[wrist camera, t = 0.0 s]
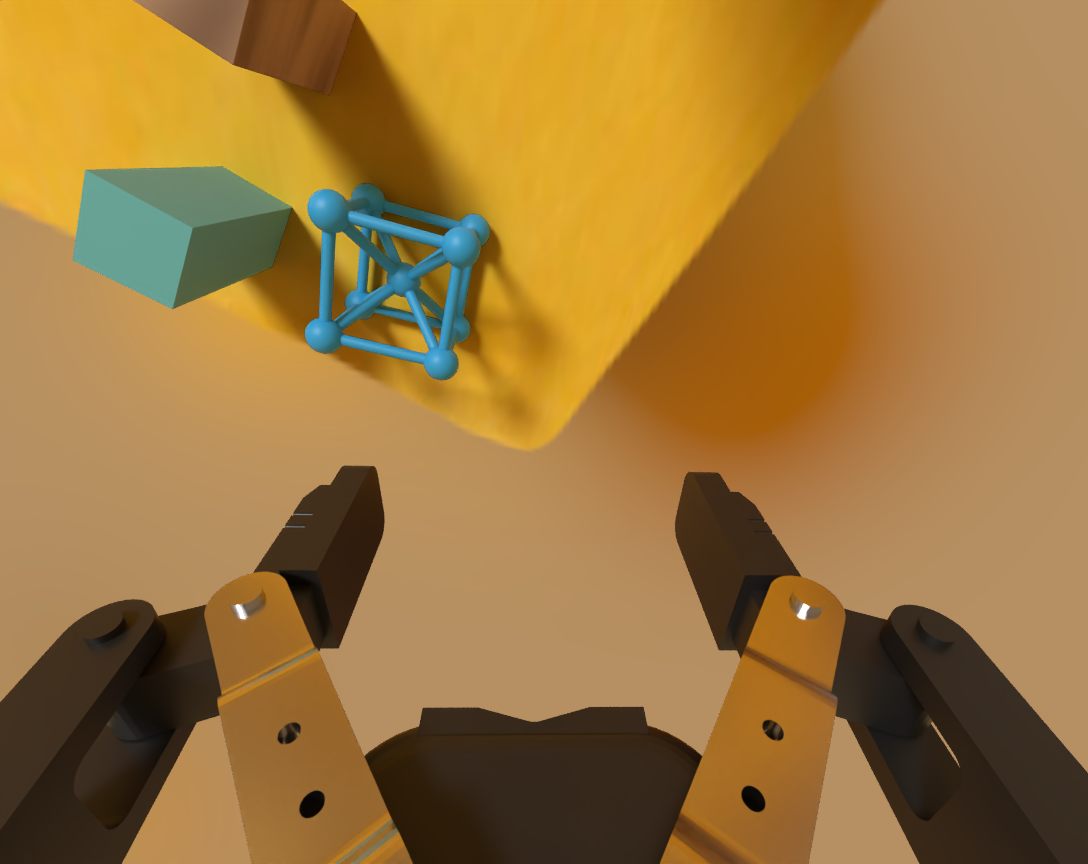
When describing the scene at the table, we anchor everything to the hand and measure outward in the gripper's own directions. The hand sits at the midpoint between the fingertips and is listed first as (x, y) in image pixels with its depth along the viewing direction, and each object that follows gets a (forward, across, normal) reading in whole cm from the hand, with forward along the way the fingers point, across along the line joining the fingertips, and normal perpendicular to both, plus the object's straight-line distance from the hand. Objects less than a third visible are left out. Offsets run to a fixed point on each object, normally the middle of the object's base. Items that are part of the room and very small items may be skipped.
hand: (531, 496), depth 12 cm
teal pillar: (+29, +21, -3) cm, 36 cm away
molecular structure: (+30, +9, 0) cm, 31 cm away
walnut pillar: (+29, +15, -14) cm, 36 cm away
